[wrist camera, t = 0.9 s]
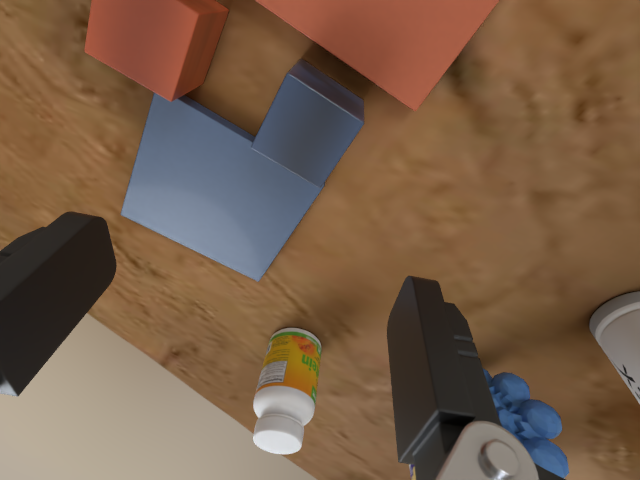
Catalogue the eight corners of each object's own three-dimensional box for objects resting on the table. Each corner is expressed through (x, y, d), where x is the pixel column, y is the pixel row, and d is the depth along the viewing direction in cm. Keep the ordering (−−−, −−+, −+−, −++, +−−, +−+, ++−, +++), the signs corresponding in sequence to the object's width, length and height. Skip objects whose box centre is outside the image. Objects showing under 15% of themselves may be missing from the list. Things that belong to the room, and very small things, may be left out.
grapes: (509, 321, 31) (578, 472, 21) (536, 361, 34) (608, 511, 24) (395, 361, 36) (408, 499, 26) (427, 394, 39) (449, 529, 29)
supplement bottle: (330, 353, 36) (322, 454, 28) (286, 363, 38) (266, 461, 30) (306, 320, 33) (289, 421, 25) (260, 333, 35) (230, 431, 27)
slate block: (267, 123, 23) (249, 148, 19) (300, 57, 20) (287, 71, 17) (326, 159, 24) (320, 189, 20) (364, 100, 21) (365, 123, 18)
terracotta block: (132, 41, 21) (83, 51, 17) (151, -44, 18) (98, -53, 14) (203, 84, 22) (171, 102, 18) (229, 9, 19) (199, 14, 16)
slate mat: (126, 208, 28) (120, 214, 27) (163, 82, 22) (155, 85, 21) (261, 274, 30) (258, 282, 30) (326, 178, 24) (324, 184, 24)
